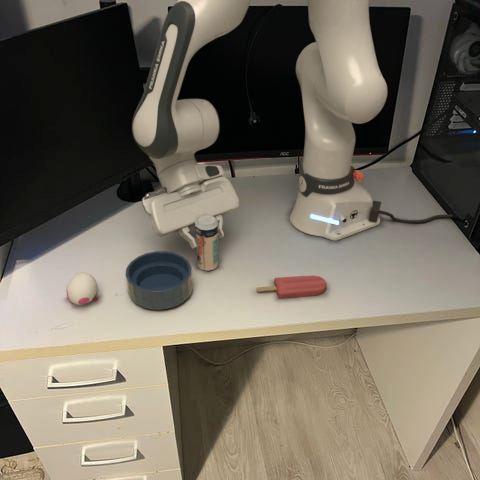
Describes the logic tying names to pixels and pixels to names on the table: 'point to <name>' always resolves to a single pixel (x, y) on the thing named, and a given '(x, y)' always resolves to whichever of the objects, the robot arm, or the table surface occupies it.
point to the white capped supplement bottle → (207, 242)
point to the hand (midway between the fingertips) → (208, 242)
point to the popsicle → (297, 286)
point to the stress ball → (81, 288)
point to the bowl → (159, 280)
